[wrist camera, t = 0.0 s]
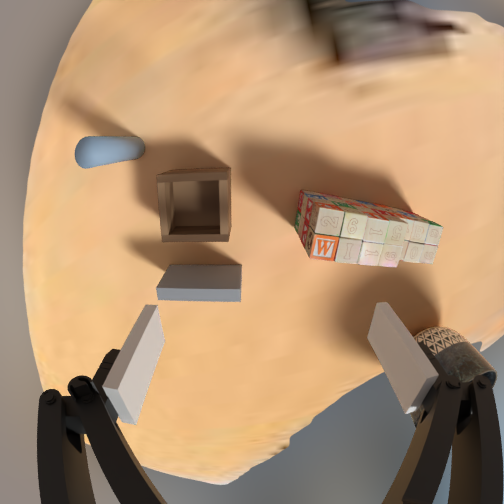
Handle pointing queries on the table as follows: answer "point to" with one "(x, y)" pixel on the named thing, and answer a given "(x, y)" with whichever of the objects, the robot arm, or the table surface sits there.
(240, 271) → the wall
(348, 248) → the stack of blocks
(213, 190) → the slider block
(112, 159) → the dowel
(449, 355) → the planter
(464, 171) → the table surface
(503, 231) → the table surface
